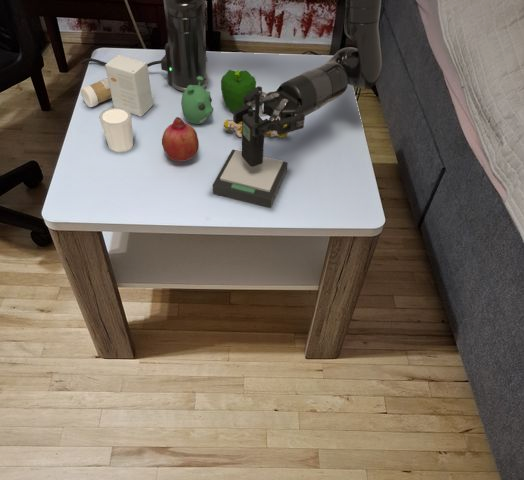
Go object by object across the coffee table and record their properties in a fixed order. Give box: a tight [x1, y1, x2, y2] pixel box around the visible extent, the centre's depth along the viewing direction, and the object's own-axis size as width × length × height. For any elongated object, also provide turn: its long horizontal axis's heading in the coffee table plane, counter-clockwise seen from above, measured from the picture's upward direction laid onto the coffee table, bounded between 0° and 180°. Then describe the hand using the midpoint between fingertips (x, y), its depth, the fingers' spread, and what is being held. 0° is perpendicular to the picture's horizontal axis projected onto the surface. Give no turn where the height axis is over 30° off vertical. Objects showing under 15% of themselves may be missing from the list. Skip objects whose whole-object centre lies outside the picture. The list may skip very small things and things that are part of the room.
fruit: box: [161, 116, 200, 162], centre depth 109 cm, size 8×8×10 cm
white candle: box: [98, 106, 134, 153], centre depth 112 cm, size 7×7×7 cm
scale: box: [212, 149, 289, 209], centre depth 109 cm, size 13×13×3 cm
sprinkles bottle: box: [80, 77, 112, 108], centre depth 123 cm, size 5×5×14 cm
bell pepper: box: [220, 69, 257, 114], centre depth 122 cm, size 8×8×10 cm
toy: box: [223, 119, 289, 139], centre depth 118 cm, size 5×5×15 cm
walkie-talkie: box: [241, 93, 265, 167], centre depth 99 cm, size 5×3×15 cm
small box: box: [104, 54, 154, 118], centre depth 119 cm, size 8×6×10 cm
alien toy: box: [180, 76, 214, 125], centre depth 118 cm, size 7×8×10 cm
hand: (244, 125), depth 97 cm, fingers closed on walkie-talkie, 5 cm apart
